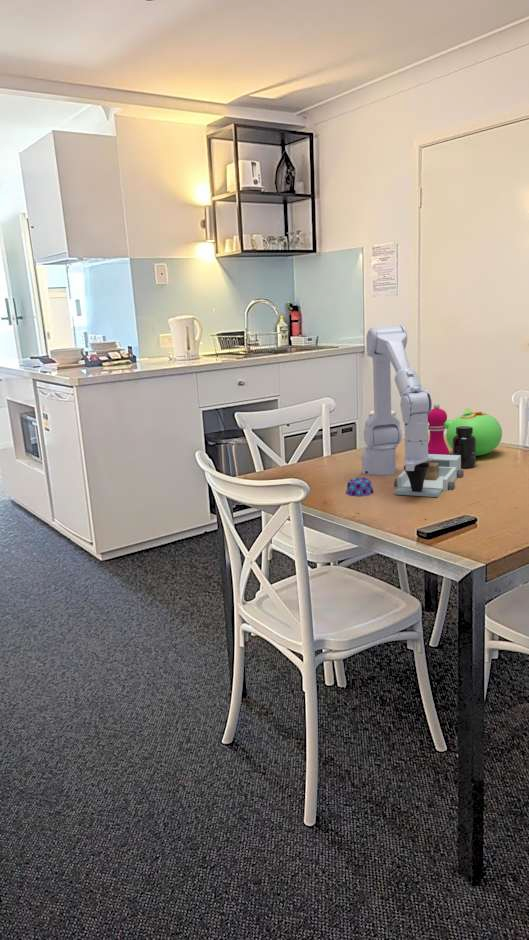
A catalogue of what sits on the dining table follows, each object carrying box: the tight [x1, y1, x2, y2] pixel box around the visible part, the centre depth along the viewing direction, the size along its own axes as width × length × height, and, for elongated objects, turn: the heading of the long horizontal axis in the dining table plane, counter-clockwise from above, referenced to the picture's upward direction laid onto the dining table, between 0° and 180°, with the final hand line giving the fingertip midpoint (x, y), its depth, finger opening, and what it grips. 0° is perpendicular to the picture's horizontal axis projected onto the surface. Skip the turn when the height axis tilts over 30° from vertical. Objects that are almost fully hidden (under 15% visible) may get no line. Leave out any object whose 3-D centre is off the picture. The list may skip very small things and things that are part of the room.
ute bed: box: [393, 454, 465, 492], centre depth 184 cm, size 16×19×6 cm
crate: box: [424, 462, 439, 480], centre depth 184 cm, size 4×4×4 cm
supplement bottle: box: [451, 426, 477, 469], centre depth 201 cm, size 7×7×12 cm
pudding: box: [345, 477, 375, 498], centre depth 177 cm, size 12×12×5 cm
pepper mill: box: [427, 402, 450, 455], centre depth 199 cm, size 7×7×20 cm
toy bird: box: [444, 407, 503, 457], centre depth 214 cm, size 18×17×15 cm
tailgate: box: [393, 487, 444, 498], centre depth 173 cm, size 11×6×1 cm, turn 64°
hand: (417, 491), depth 172 cm, fingers closed, pressing on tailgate
